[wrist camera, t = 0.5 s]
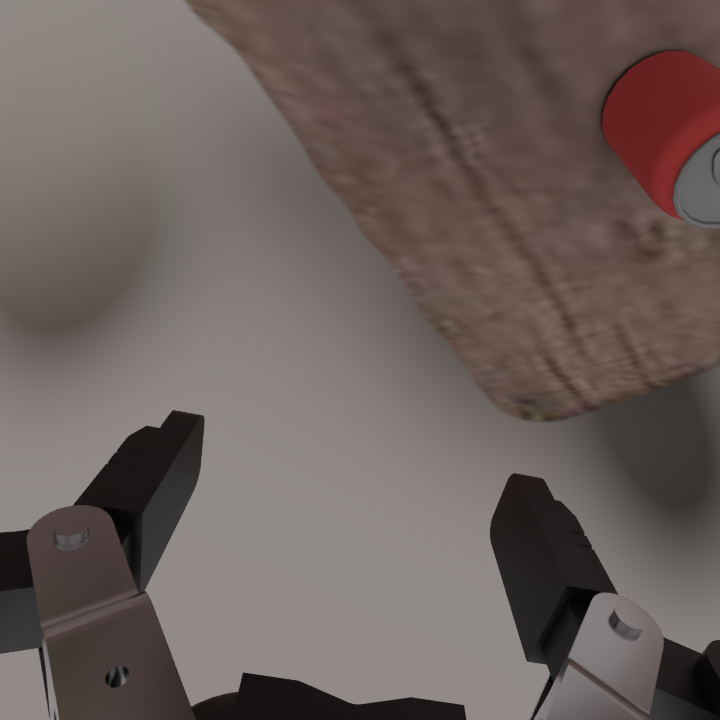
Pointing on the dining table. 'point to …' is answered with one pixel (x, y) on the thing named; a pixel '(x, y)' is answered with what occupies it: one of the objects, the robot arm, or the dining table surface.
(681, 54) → the beer can
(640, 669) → the robot arm
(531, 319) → the dining table surface
